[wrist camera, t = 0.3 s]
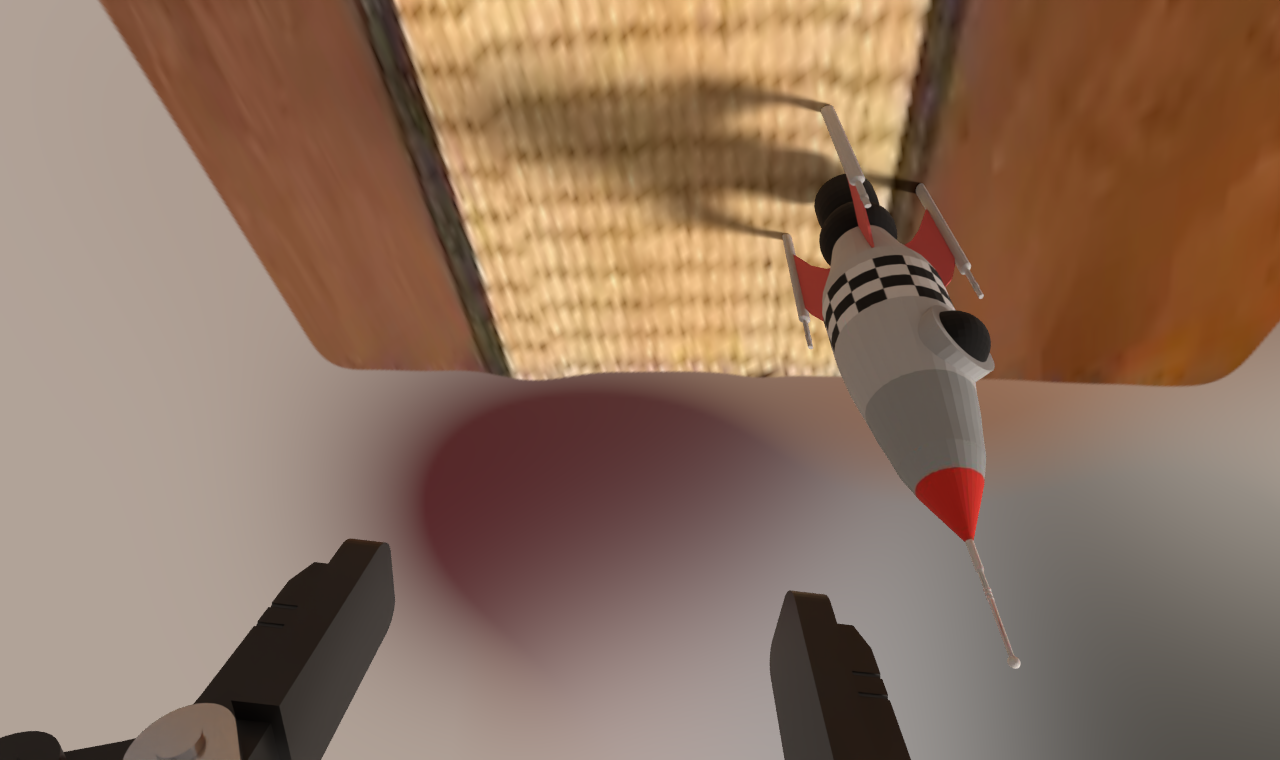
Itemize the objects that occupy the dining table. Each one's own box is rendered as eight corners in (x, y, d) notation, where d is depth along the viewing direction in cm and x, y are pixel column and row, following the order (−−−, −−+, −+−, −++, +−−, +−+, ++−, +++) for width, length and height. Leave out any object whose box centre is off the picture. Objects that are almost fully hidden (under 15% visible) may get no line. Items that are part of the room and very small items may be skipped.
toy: (934, 179, 39) (1241, 673, 17) (836, 273, 44) (977, 742, 22) (828, 98, 36) (1039, 573, 14) (737, 209, 41) (788, 679, 19)
